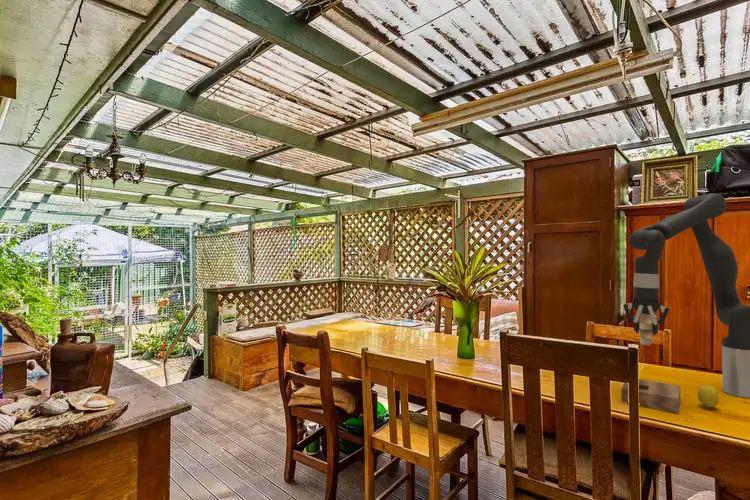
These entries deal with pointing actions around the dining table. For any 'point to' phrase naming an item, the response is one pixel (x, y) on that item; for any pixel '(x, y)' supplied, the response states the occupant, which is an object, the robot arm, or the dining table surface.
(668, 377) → the dining table surface
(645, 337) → the peg
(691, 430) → the dining table surface
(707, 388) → the lemon
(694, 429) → the dining table surface
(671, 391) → the board
